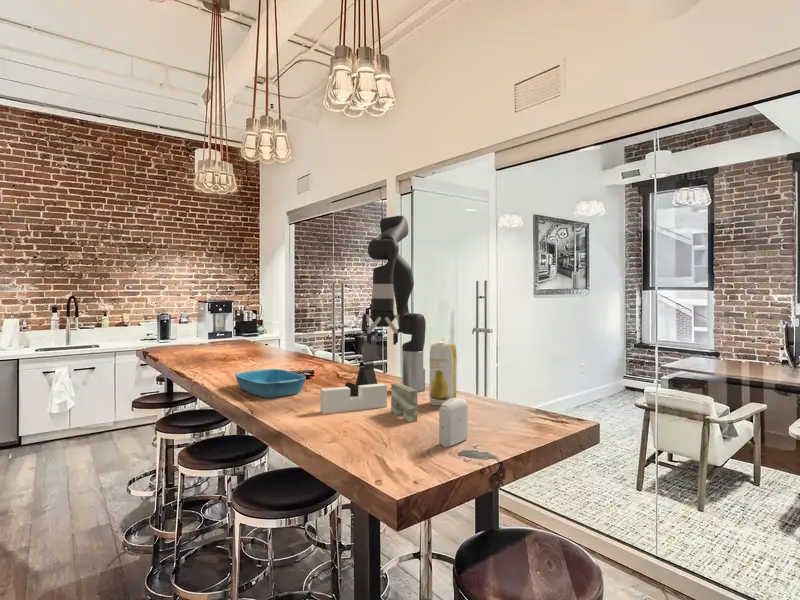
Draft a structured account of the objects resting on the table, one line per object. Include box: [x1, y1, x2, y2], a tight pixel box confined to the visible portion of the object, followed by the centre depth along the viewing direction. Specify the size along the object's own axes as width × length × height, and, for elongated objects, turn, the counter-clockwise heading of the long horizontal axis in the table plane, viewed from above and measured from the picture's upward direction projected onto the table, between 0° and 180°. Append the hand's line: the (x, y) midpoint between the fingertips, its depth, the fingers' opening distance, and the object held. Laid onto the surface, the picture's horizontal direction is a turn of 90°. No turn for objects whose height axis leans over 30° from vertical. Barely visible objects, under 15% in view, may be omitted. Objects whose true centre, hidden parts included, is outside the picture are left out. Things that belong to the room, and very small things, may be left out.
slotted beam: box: [319, 382, 388, 415], centre depth 166 cm, size 24×4×8 cm, turn 116°
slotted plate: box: [390, 382, 418, 423], centre depth 156 cm, size 3×14×10 cm, turn 26°
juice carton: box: [428, 340, 458, 406], centre depth 174 cm, size 9×8×24 cm
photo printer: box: [438, 397, 469, 448], centre depth 130 cm, size 10×4×12 cm, turn 139°
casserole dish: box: [234, 368, 307, 399], centre depth 196 cm, size 37×22×7 cm, turn 40°
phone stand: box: [354, 360, 378, 387], centre depth 201 cm, size 9×6×12 cm, turn 48°
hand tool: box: [344, 381, 358, 397], centre depth 187 cm, size 19×4×5 cm, turn 32°
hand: (382, 344), depth 158 cm, fingers open, 8 cm apart
